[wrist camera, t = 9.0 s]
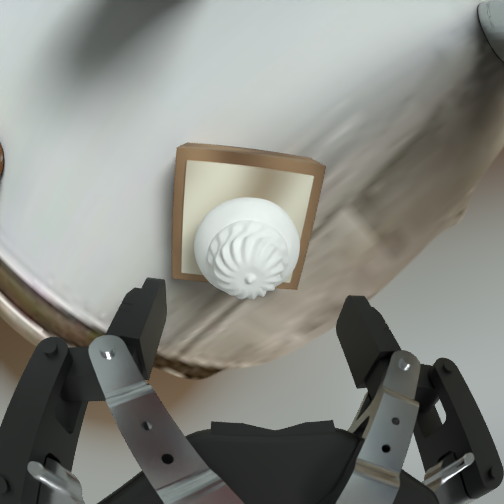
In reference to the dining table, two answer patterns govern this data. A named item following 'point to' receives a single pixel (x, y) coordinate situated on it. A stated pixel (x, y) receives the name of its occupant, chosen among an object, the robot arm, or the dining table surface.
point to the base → (239, 195)
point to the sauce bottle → (1, 159)
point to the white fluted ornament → (246, 247)
